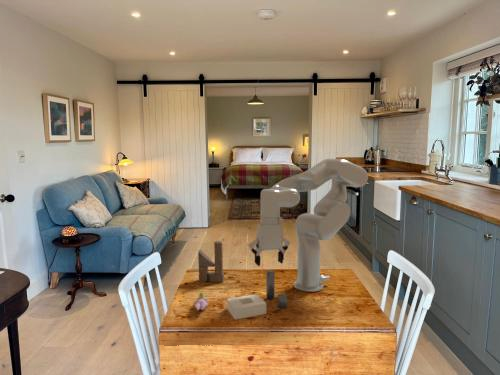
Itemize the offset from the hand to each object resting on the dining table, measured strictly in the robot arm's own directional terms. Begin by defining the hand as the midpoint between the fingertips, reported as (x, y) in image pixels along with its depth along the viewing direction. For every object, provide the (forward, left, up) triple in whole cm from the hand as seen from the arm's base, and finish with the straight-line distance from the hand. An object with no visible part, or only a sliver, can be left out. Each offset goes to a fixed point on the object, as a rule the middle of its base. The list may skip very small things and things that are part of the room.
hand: (269, 263), depth 148 cm
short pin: (-2, +9, -14) cm, 17 cm away
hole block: (+12, +7, -14) cm, 20 cm away
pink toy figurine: (+27, -2, -15) cm, 31 cm away
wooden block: (+16, -27, -15) cm, 35 cm away
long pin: (-1, 0, -14) cm, 14 cm away
